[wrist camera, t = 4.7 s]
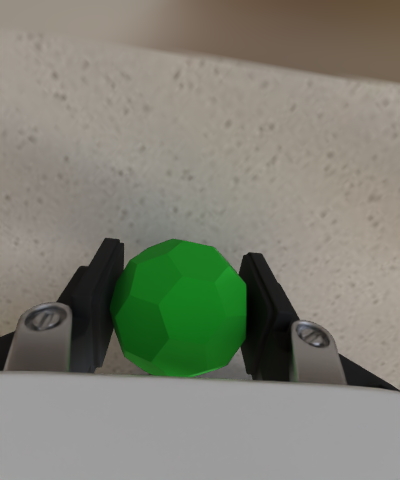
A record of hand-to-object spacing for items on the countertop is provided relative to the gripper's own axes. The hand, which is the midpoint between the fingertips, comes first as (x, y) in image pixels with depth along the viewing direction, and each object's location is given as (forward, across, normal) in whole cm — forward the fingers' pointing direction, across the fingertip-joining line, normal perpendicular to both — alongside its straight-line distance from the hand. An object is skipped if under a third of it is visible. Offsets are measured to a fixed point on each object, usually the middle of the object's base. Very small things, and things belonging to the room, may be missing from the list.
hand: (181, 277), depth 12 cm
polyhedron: (+1, 0, 0) cm, 1 cm away
